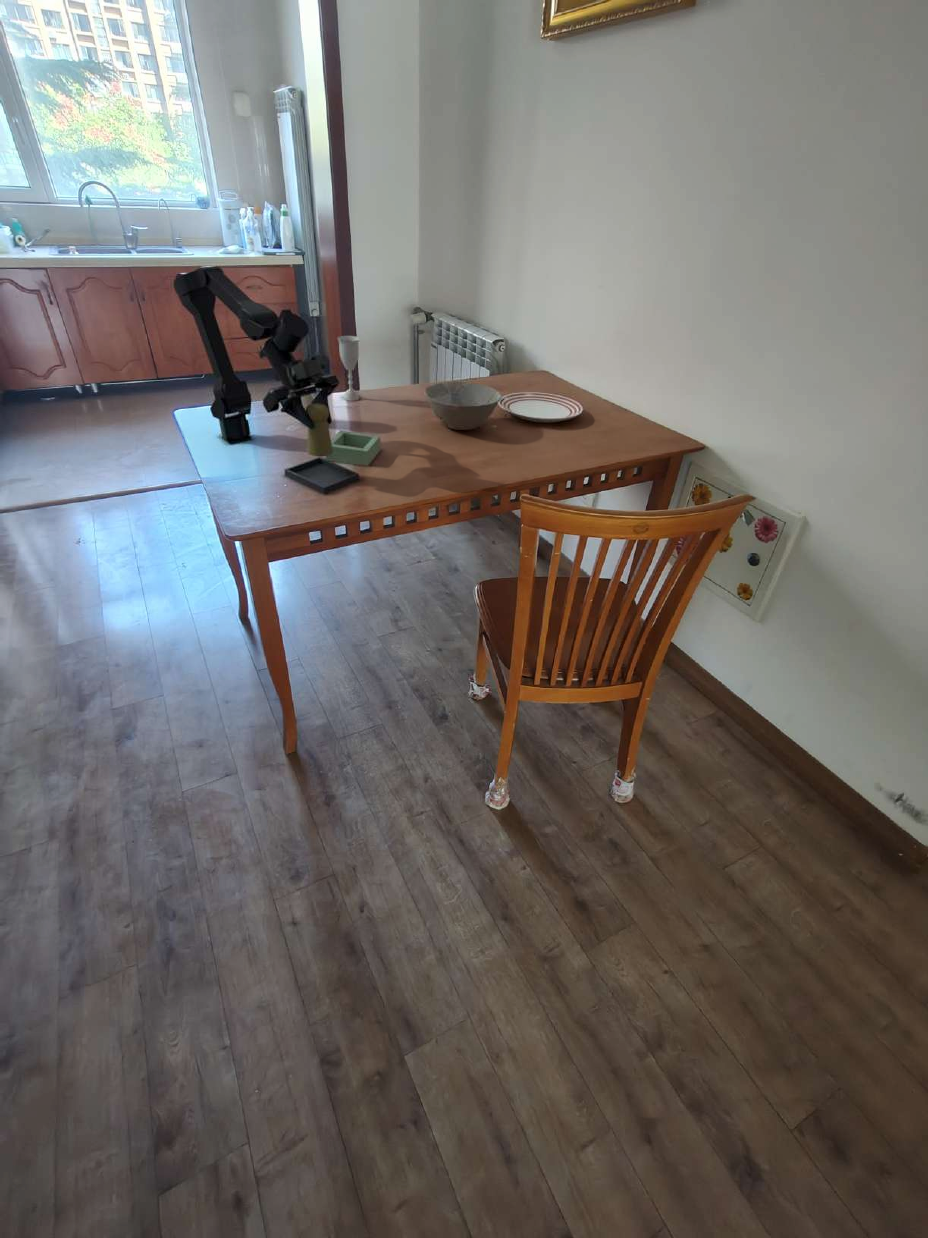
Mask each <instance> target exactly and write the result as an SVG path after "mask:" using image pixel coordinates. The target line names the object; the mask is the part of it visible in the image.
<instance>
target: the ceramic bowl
mask: <svg viewBox="0 0 928 1238" xmlns="http://www.w3.org/2000/svg"><path fill="white" fill-rule="evenodd" d="M423 393H424V396H425V398H426V399H427V402H428V404H429V405H430V408H431V409H432V411H433V413H434V414H435V416H436V417H437V418H438V420H439V422H440V423H441V424H442V425H443V426H444V427H446V428H449V429H451V430H455V431H456V430H458V431H470V430H475V429H477V428H479V427H481V426H482V425H483V424H484V423H485V422H486V421H487V420H488V419H489V417H490V416H491V415H492V414H493V412H494V411H495V409H496V407H497V405H499V404H498V402H499V401H500V399H501V397H503V396H502V393H501V392H500V391H498V390H496V389H495V388H493V387H491V386H487V385H484V384H480V383H475V382H470V381H469V382H468V381H448V382H439V383H434V384H431V385H428V386H426V387H425V388H424V391H423Z"/></svg>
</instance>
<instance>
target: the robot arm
mask: <svg viewBox="0 0 928 1238" xmlns="http://www.w3.org/2000/svg"><path fill="white" fill-rule="evenodd" d="M173 289H174V292H175V293H176V294H177V297H178V299H179V301H180V302H181V305H182V306H183V307H184V308H185V309H186V310H187V312H189V313H190V314H191V316H192V317H193V319H194V321H195V325H196V328H197V330H198V333H199V336H200V338H201V339H200V340H201V341H202V344H203V347H204V350H205V353H206V356H207V358H208V361H209V364H210V367H211V370H212V373H213V375H214V384H213V389H212V392H213V395H214V400H213V402H212V404H211V406H210V409H209V410H210V412H211V415H212V417H213V418H215V419H217V420H218V423H219V427H220V434H219V437H220V438H221V439H222V440H224V441H225V442H226V443H227V444H235V443H241V442H245V441H250V440H253V437H252V436H251V427H250V422H249V419H247V415H251V412H252V411H251V410H252V403H253V402H252V394H251V392H250V390H249V388H248V383H247V381H246V380H245V379H240V377H239V376H238V375H237V374H236V373H235V370H234V367H233V364H232V360H231V358H230V356H229V352H228V349H227V347H226V343H225V340H224V338H223V333H222V331H221V329H220V326H219V323H218V319H217V316H216V314H215V308H216V301H217V299H218V300H219V301H220V302H221V303H222V304H223V305H224V306H226V308H228V310H229V311H231V312H232V313H233V314H234V315H235V316H236V318H237V319H238V320H239V327H240V329H241V330H242V331H243V332H244V334H245V335H246V336H247V337H248V338H249V340H251V341H253V342H258V341H263V340H265V342H264V343H263V344H260V345H259V354H258V355H259V358H260V359H265V358H266V359H267V361H268V363H269V364H270V366H271V367H272V370H273V371H274V372H275V376H274V379H275V382H280V383H281V384H282V385H281V386H276V387H272V388H270V389H269V390H268V392H267V393H266V394H265V396H264V398H263V399H262V406H263V408H264V409H265V411H266V412H267V413H268V414H269V413H273V412H277V411H278V410H279V409H280V412H281V413H285V414H287V415H289V416H290V417H292V418H294V419H295V420H297V421H298V422H300V423H301V424H303V425H304V426H305V427H307V428H308V427H309V428H310V429H311V430H312V429H314V428H315V426H314V424H313V422H312V420H311V418H310V417H309V415H308V413H307V412H306V410H305V408H304V407H303V405H302V400H301V397H303V396H306V395H311V396H312V397H313V399H314V400H313V401H312V402H311V403H312V404H313V403H320V404H323V405H325V406H326V407H327V408H328V410H329V416H328V419H327V423H328V425H331V424H332V422H333V420H332V414H331V410H330V406H329V396H331V395H332V394H333V393H334V392H335V391H336V389H337V388H338V387H339V385H340V384H341V382H340V380H339V379H338V377H337V375H336V374H334V373H329V374H326V375H325V376H321V377H320V378H319V379H318V381H317V382H316V383H315V384H312V385H311V382H313V381H314V380H315V377H314V376H316V375H318V374H320V375H321V374H323V372H324V370H326V369H327V364H326V361H325V359H324V358H323V357H322V355H321V354H316V355H314V356H310V360H307V361H304V360H302V358H301V359H297V357H296V355H295V354H294V352H297V351H298V349H299V348H300V346H301V345H302V344H303V342H304V341H305V339H306V338H307V336H308V335H309V332H310V329H309V325H308V323H307V321H306V320H305V319H303V318H302V317H301V316H300V315H298V314H296V313H293V311H292V309H290V308H285V309H281V311H280V312H279V316H278V314H277V313H276V312H275V311H274V310H273V309H272V308H269V307H268V306H266V305H265V304H261V303H259V302H256V301H254V300H253V299H251V298H250V297H249V296H248V295H247V294H246V293H245V292H244V291H243V290H242V289H240V288H239V286H237V285H236V283H234V282H233V280H231V279H230V278H229V277H228V275H226V274H225V272H224V271H223V269H222V268H221V267H220V266H217V265H207V266H200V267H199V268H197V269H195V270H193V271H190V272H180V273H177V274H176V275H175V278H174V279H173ZM322 370H323V372H322ZM280 405H281V408H280Z"/></svg>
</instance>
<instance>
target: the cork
mask: <svg viewBox="0 0 928 1238" xmlns="http://www.w3.org/2000/svg"><path fill="white" fill-rule="evenodd" d="M329 410H330V409H329ZM329 410H328V408H327V407H326V406H325V405H323V404H320V403H313V404H310V405H308V406H307V407H306V412H307V413H308V415H309V417H310V418H311V420H312V422H313V424H314V426H315V428H314V429H312V430H311V429H310V428H309V427H307V428H308V429H307V448H306V453H307V454H308V455H309V456H313V457H326V456H328V455H330V454H332V453H333V448H332V443H331V439H332V438H331V433H330V428H329V424H328V423H327V419H328V416H329Z"/></svg>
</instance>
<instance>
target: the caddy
mask: <svg viewBox="0 0 928 1238" xmlns="http://www.w3.org/2000/svg"><path fill="white" fill-rule="evenodd" d="M331 443H332V448H333V453H332V454H330V455H328V456H325V459H326V460H328V461H331V462H334V463H335V462H337V463H341V464H342V463H344V464H350V465H358V466H362V467H363V466H364V467H368V466H369V465H370V464H371V463H372V461H373V460H374V459H375V458H376V456H377V455H378V454H379V453H380V452H381V435H377V434H369V433H362V432H355V431H348V430H341V429H340V430H339V431H338V432H337V433H336V434H335V435H334V436H333V437H332V438H331Z"/></svg>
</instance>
